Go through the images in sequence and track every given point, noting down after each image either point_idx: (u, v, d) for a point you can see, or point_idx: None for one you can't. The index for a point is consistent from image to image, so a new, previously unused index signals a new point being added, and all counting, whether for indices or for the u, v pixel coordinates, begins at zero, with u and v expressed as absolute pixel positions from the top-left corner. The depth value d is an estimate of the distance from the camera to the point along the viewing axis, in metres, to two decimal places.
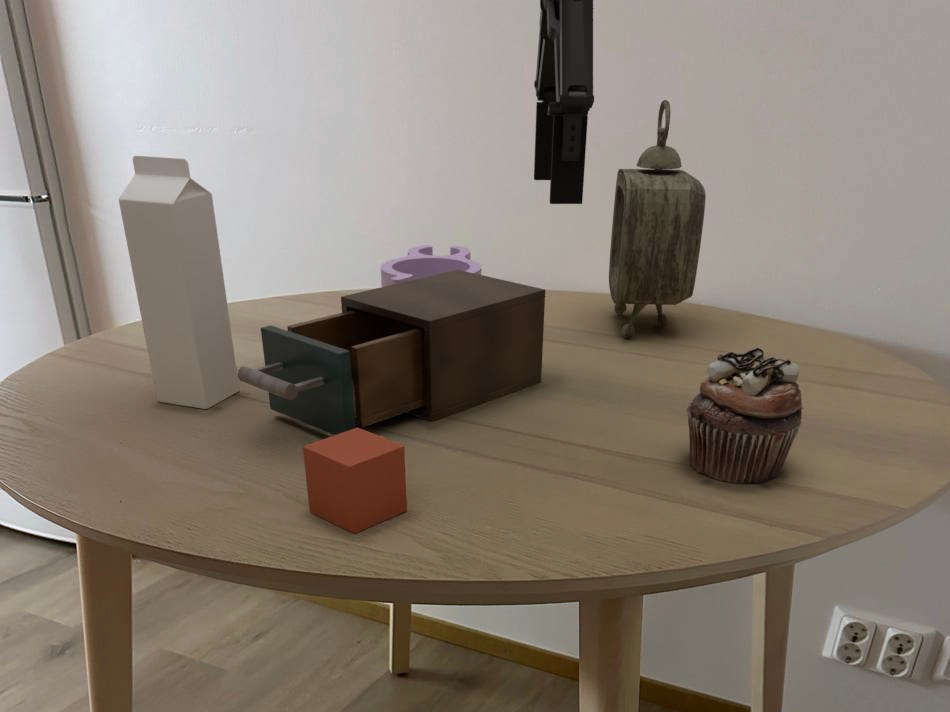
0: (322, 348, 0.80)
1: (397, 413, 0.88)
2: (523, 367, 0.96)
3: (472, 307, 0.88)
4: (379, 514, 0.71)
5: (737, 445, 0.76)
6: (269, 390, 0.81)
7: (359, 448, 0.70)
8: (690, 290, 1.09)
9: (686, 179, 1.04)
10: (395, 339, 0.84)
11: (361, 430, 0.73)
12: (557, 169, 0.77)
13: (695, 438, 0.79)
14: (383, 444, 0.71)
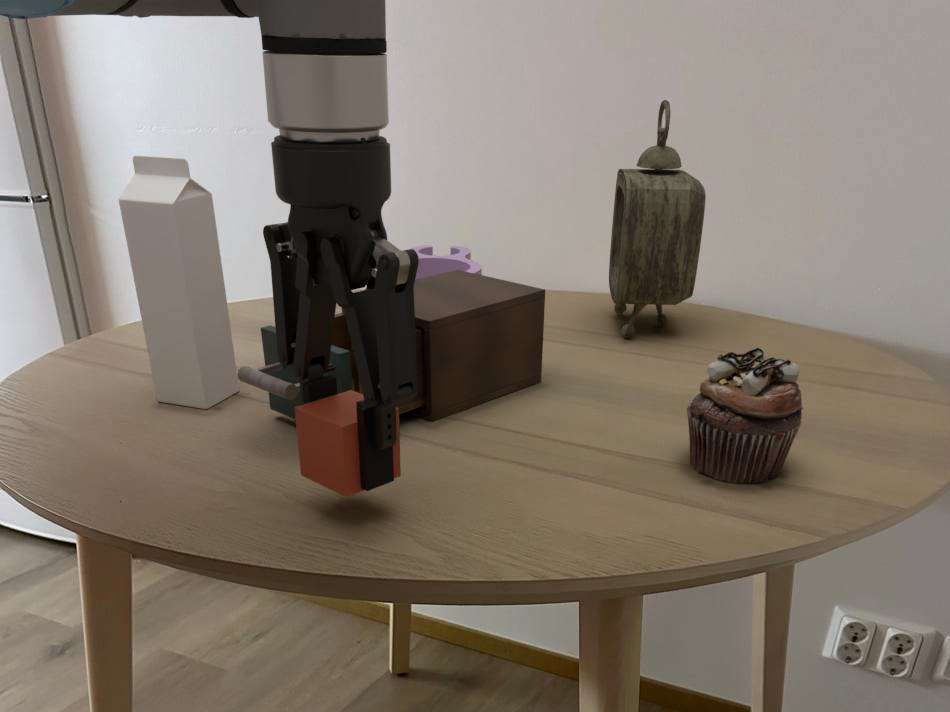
0: None
1: None
2: (523, 367, 0.96)
3: (472, 307, 0.88)
4: None
5: (737, 445, 0.76)
6: (269, 390, 0.81)
7: (352, 410, 0.68)
8: (690, 290, 1.09)
9: (686, 179, 1.04)
10: None
11: (355, 392, 0.71)
12: (370, 456, 0.68)
13: (695, 438, 0.79)
14: None
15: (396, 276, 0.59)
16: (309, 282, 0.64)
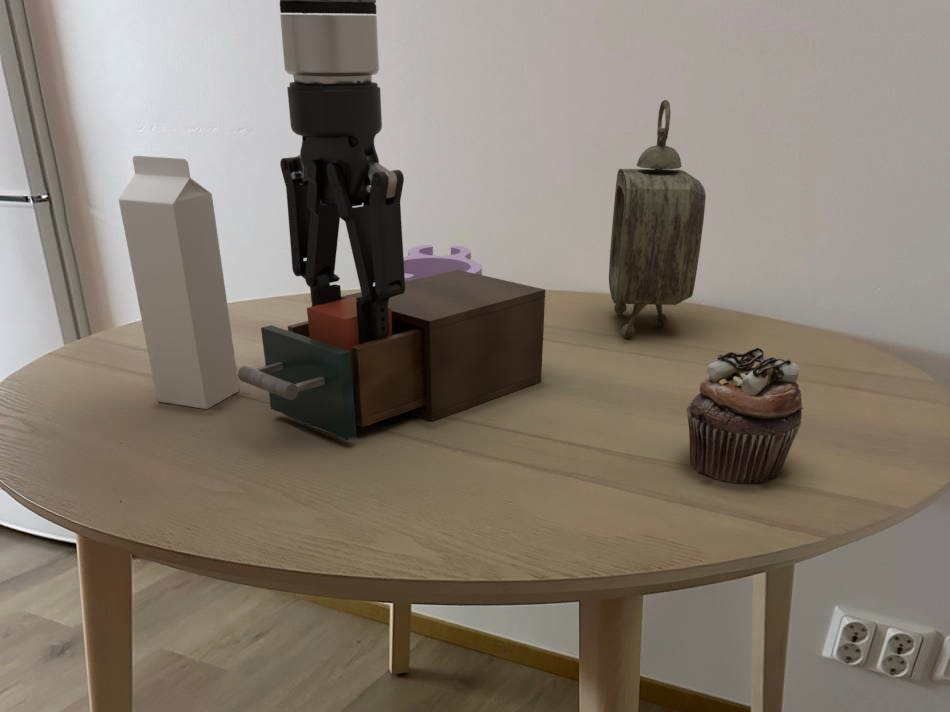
0: (322, 348, 0.80)
1: (397, 413, 0.88)
2: (523, 367, 0.96)
3: (472, 307, 0.88)
4: None
5: (737, 445, 0.76)
6: (269, 390, 0.81)
7: (353, 309, 0.84)
8: (690, 290, 1.09)
9: (686, 179, 1.04)
10: (395, 339, 0.84)
11: (355, 298, 0.87)
12: None
13: (695, 438, 0.79)
14: None
15: (386, 190, 0.75)
16: (317, 202, 0.80)
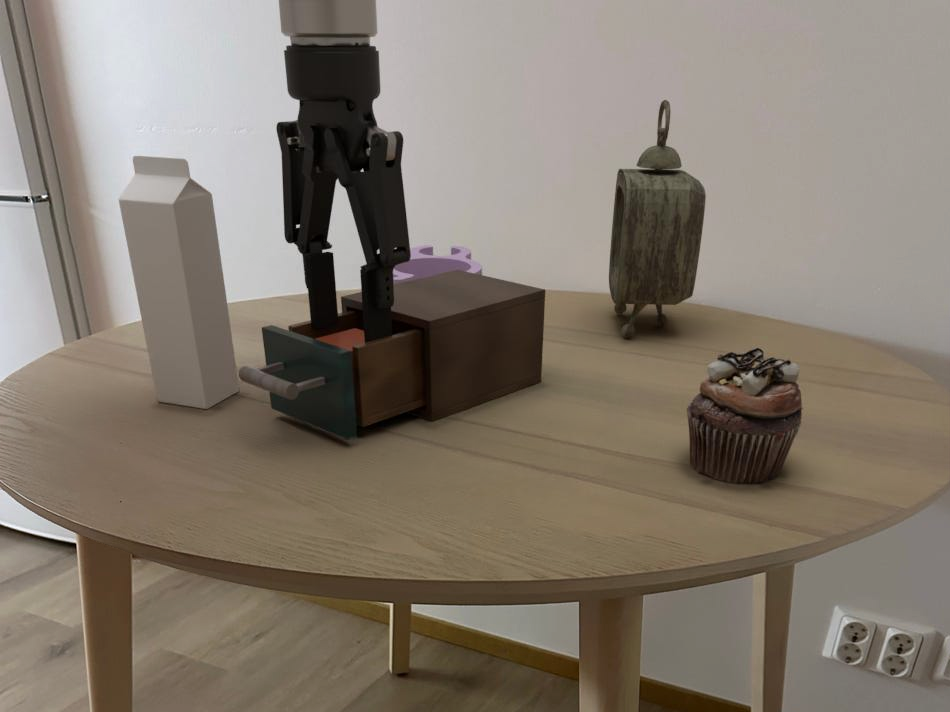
0: (323, 348, 0.80)
1: (398, 413, 0.88)
2: (523, 367, 0.96)
3: (472, 307, 0.88)
4: None
5: (737, 445, 0.76)
6: (270, 390, 0.81)
7: (356, 341, 0.86)
8: (690, 290, 1.09)
9: (686, 179, 1.04)
10: (396, 339, 0.84)
11: (358, 330, 0.89)
12: (372, 316, 0.82)
13: (695, 438, 0.79)
14: None
15: (386, 152, 0.73)
16: (313, 168, 0.78)
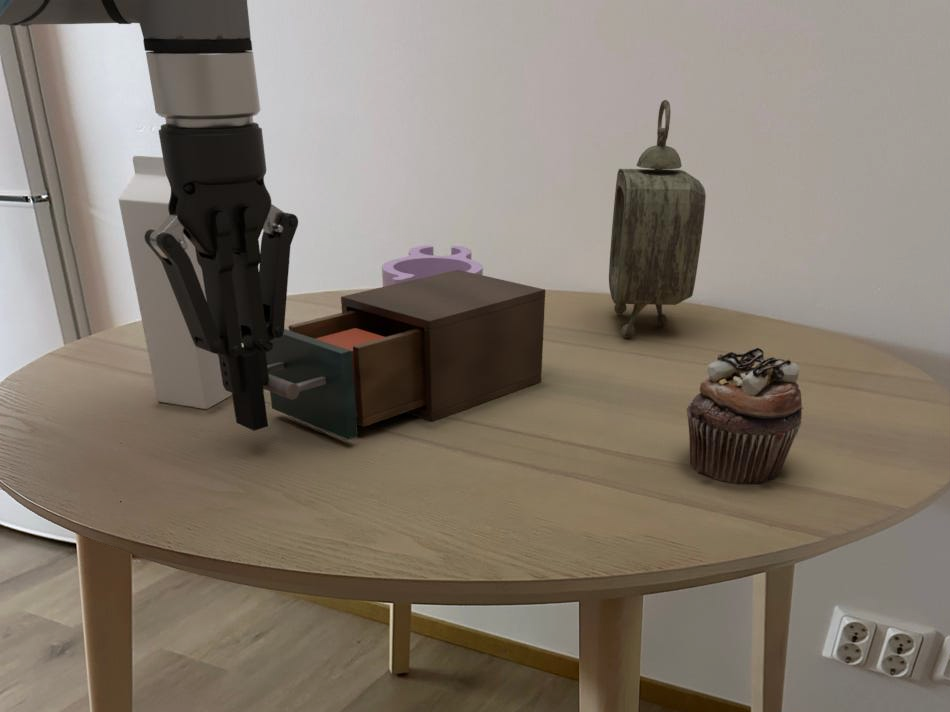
0: (323, 348, 0.80)
1: (398, 413, 0.88)
2: (523, 367, 0.96)
3: (472, 307, 0.88)
4: None
5: (737, 445, 0.76)
6: (270, 390, 0.81)
7: (356, 341, 0.86)
8: (690, 290, 1.09)
9: (686, 179, 1.04)
10: (396, 339, 0.84)
11: (358, 329, 0.89)
12: None
13: (695, 438, 0.79)
14: (376, 338, 0.87)
15: None
16: None
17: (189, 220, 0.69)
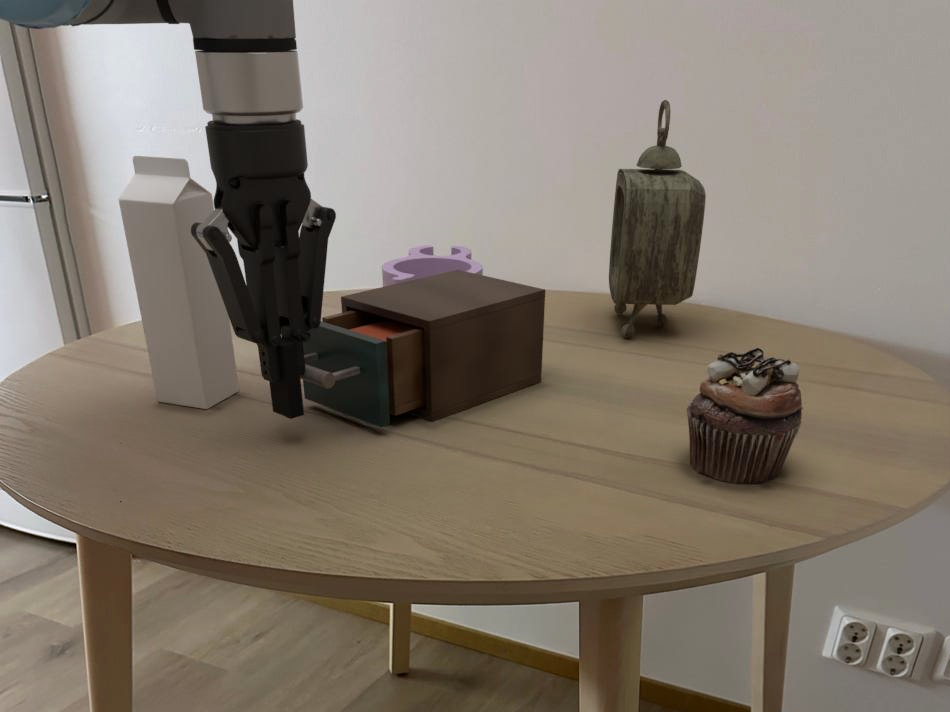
0: (358, 338, 0.83)
1: None
2: (523, 367, 0.96)
3: (472, 307, 0.88)
4: None
5: (737, 445, 0.76)
6: (307, 379, 0.83)
7: (388, 332, 0.88)
8: (690, 290, 1.09)
9: (686, 179, 1.04)
10: None
11: (389, 321, 0.91)
12: None
13: (695, 438, 0.79)
14: (407, 330, 0.89)
15: None
16: None
17: (234, 213, 0.72)
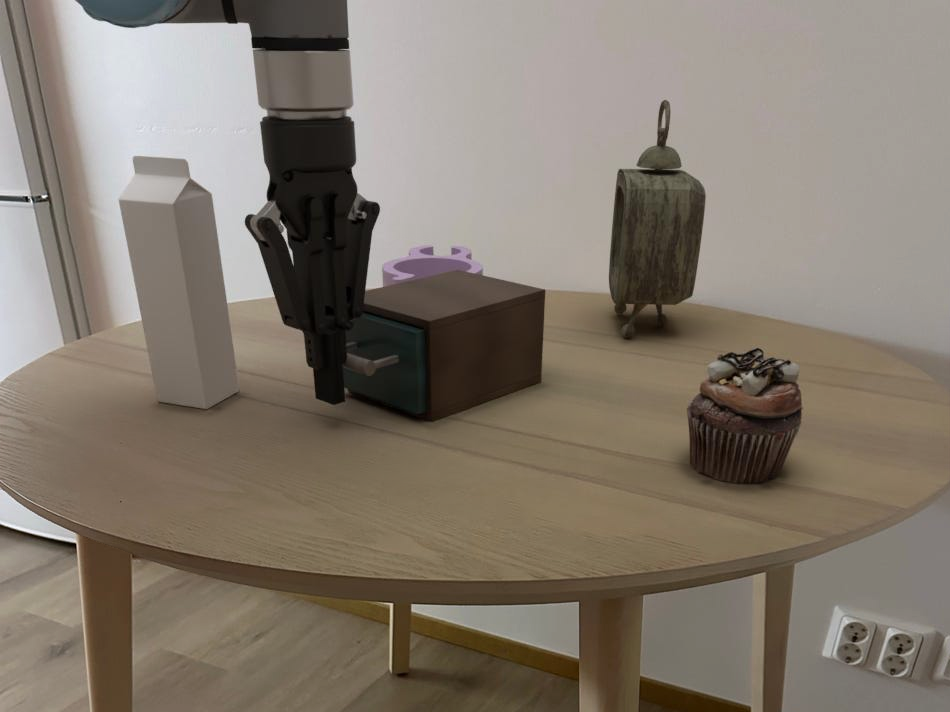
0: (398, 327, 0.86)
1: None
2: (523, 367, 0.96)
3: (472, 307, 0.88)
4: None
5: (737, 445, 0.76)
6: (348, 367, 0.86)
7: None
8: (690, 290, 1.09)
9: (686, 179, 1.04)
10: None
11: None
12: None
13: (695, 438, 0.79)
14: None
15: None
16: None
17: (286, 205, 0.75)
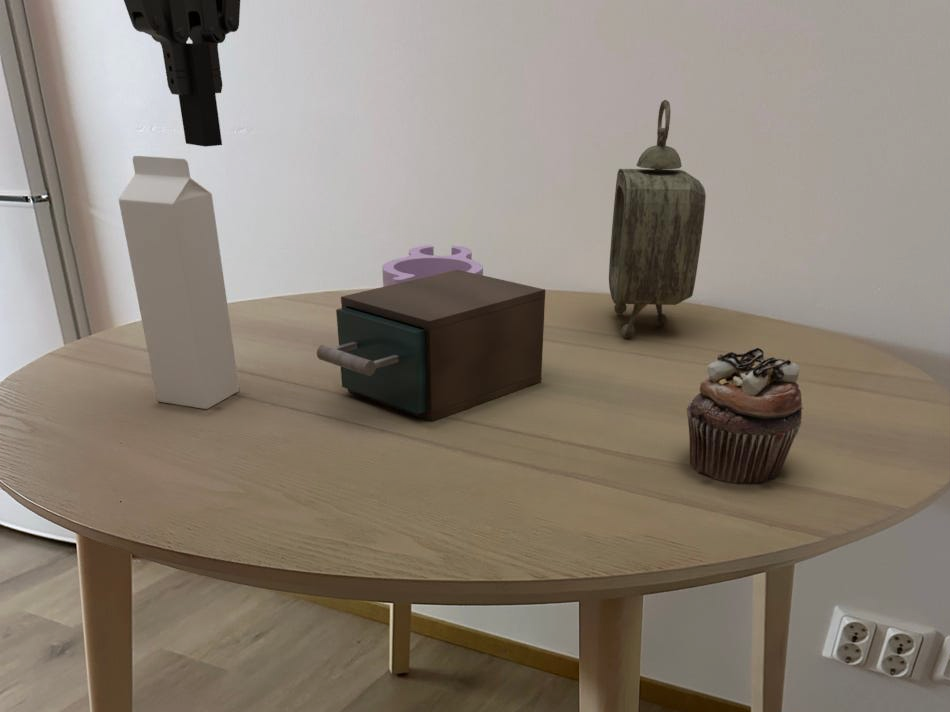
0: (398, 327, 0.86)
1: None
2: (523, 367, 0.96)
3: (472, 307, 0.88)
4: None
5: (737, 445, 0.76)
6: (348, 367, 0.86)
7: None
8: (690, 290, 1.09)
9: (686, 179, 1.04)
10: None
11: None
12: None
13: (695, 438, 0.79)
14: None
15: None
16: None
17: None
